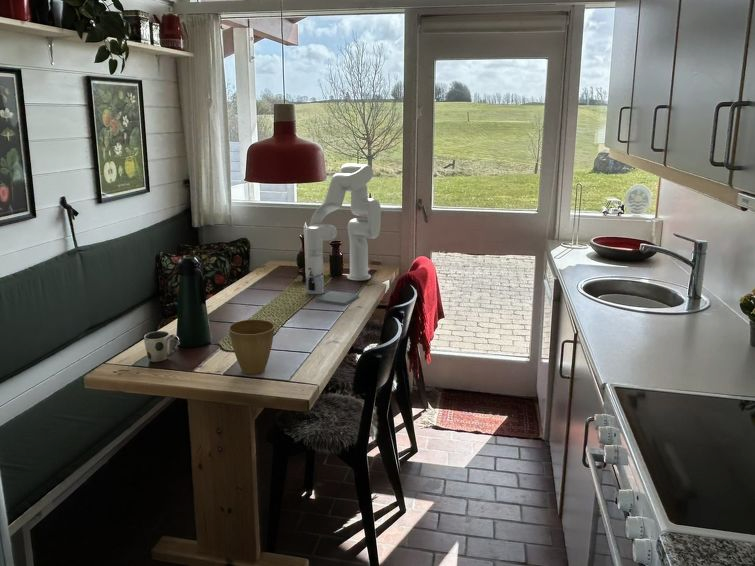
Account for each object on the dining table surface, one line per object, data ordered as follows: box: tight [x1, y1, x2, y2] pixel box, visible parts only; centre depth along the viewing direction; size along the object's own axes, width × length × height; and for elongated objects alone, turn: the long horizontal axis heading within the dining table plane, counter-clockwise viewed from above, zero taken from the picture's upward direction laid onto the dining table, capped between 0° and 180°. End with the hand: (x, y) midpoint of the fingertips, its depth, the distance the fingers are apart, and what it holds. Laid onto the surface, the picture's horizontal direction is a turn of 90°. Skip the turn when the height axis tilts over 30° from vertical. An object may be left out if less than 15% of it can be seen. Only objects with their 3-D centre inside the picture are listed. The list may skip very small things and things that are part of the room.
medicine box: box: [305, 274, 325, 295], centre depth 301 cm, size 8×4×9 cm, turn 84°
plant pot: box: [228, 319, 275, 376], centre depth 209 cm, size 15×15×16 cm
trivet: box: [315, 290, 360, 306], centre depth 293 cm, size 15×15×1 cm
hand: (315, 288), depth 302 cm, fingers open, 6 cm apart
